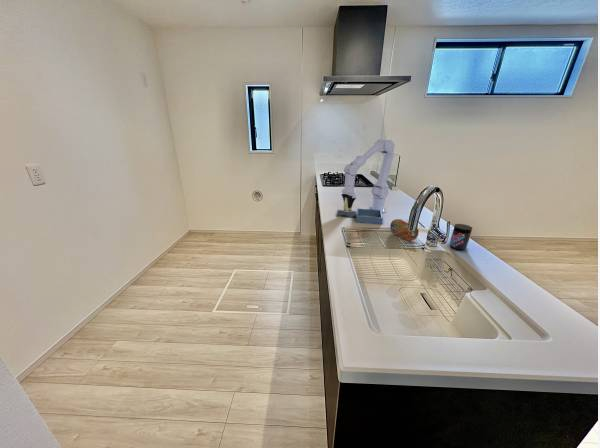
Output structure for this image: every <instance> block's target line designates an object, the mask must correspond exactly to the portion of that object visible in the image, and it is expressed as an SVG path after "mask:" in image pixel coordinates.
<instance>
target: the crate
mask: <svg viewBox="0 0 600 448" xmlns="http://www.w3.org/2000/svg"><path fill="white" fill-rule="evenodd" d="M363 215H364V216H363ZM375 216H376V217H375ZM355 218H356V219H355V222H356V223H364V224H377V225H382V224H383V220H384V217H383V212H381V210H371V208H370V209H369V208H356V215H355Z"/></svg>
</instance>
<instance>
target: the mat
mask: <svg viewBox="0 0 600 448" xmlns="http://www.w3.org/2000/svg"><path fill="white" fill-rule="evenodd" d="M356 214H357V211H355V210H351V211H350V212H345V211H344V210H342V209H339V210H337V214H336V217H339V218H340V217H341V218H353V219H355V218H356Z"/></svg>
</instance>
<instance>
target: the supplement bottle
mask: <svg viewBox="0 0 600 448" xmlns="http://www.w3.org/2000/svg"><path fill="white" fill-rule="evenodd" d="M343 211H345V212H350V211H352V208H348V201H347V198H346V197H345V201H343Z"/></svg>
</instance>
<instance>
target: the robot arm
mask: <svg viewBox="0 0 600 448" xmlns="http://www.w3.org/2000/svg"><path fill="white" fill-rule="evenodd" d="M395 146H396V144H395V143H394V141H393V140H392V139H381V138H380V139H377V141H375V142H374V143H373V144H372V146H371V147H370V148H369V149H368V150H367V151H366V152H364V154H362V155H357V156H356V158H355V159H353V161H350V162H349V163H347V164H346V165H345V167H344V169H343V172H344V187H343V188H344V189H343V188H342V190H341V197H342V200H343V202H344V201H345V197H346V198H347V201H348V208H352V207H353V205H354V203H355V201H356V199H357V194H356V193H355V181H356V174H357V173H358V171H359V170H360V169H361V168H362V167H363V166H364V165H365V164H366V163H367V160H369V159H370V158H371V157H373V156H374V155H375V154H376V153H379V152H380V153H381V154H382V155H383V159H382V163H381V166H380V169H379V174H378V179H377V181H376V182H375V183H374V184H373V187H372V189H371V194H372V205H371V206H370V209H371V210H381V212H382V213H385V209H384V207H385V202H386V201H385V200H386V198H387V197H388V195H389V185H388V180H389V175H390V171H391V167H392V164H393V161H394V156H395Z"/></svg>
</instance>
